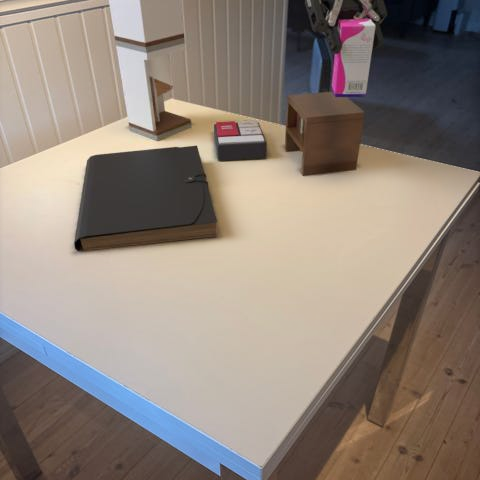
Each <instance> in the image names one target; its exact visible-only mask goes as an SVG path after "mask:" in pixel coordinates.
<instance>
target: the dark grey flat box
mask: <svg viewBox="0 0 480 480" xmlns="http://www.w3.org/2000/svg"><path fill="white" fill-rule="evenodd" d="M213 134H214V135H213V136H214V143H215V148H216V158H217V161H219V162H221V161H223V162H224V161H239V160H241V161H242V160H243V161H244V160H261V159H267V151H268V148H267V147H268V145H267V144H268V143H267V139H266V137H265V134H264V132H263V130H262V126H261V125H260V122H258V120H256V119H255V120H254V119H253V120H252V119H250V120H238V121H237V122H236V121H235V120H233V121H231V120H230V121H216V122H215V123H214V124H213Z"/></svg>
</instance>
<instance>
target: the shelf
mask: <svg viewBox="0 0 480 480" xmlns="http://www.w3.org/2000/svg"><path fill="white" fill-rule="evenodd" d="M365 115H366V114H365V111H364V110H363V109H361V108H360V107H359V106H358V105H357V104H356V103H355V102H354V101H353V100H351V99H350V98H349V97H334V94H333V91H324V92H323V91H322V92H312V93H299V94H298V93H297V94H287V97H286V114H285V134H284V135H285V136H284V138H285V139H284V151H285V152H295V151H296V152H297V151H301V153H302V154H301V158H302V159H301V169H300V174H301V176H312V175H321V174H329V173H330V174H331V173H339V172H348V171H356V170H357V165H358V161H359V155H360V147H361V141H362V135H363V128H364V122H365V121H364V120H365Z"/></svg>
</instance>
